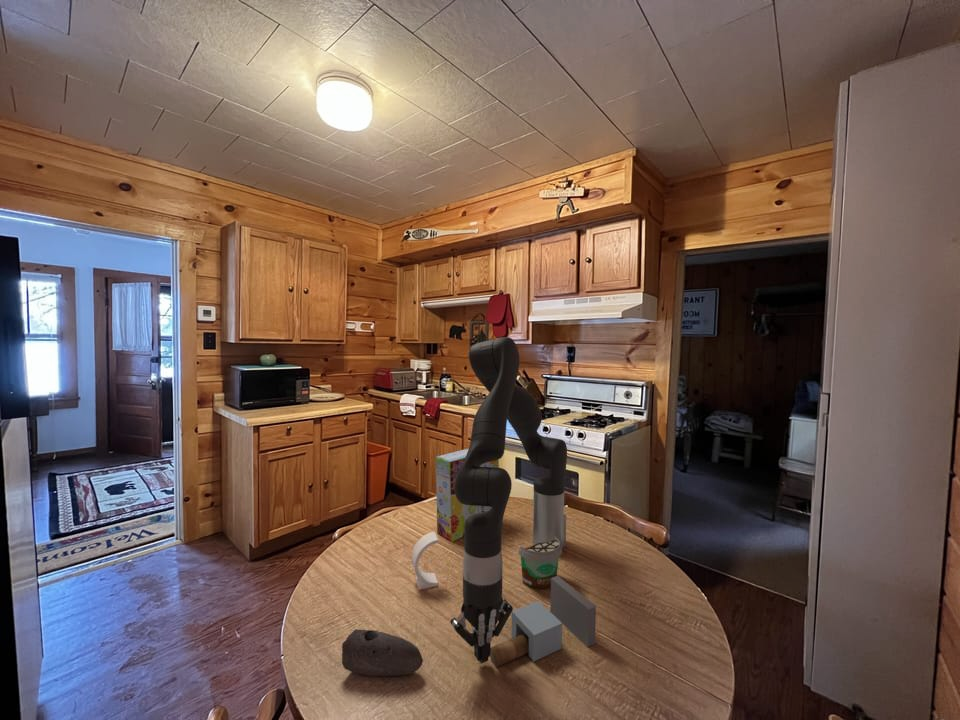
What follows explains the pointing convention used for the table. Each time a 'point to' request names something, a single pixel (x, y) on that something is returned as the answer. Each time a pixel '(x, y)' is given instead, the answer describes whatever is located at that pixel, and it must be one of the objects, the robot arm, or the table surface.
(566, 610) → the backstop wall
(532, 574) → the ice cream tub
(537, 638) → the block
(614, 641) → the table surface
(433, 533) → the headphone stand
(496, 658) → the dowel
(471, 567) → the robot arm
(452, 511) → the snack box
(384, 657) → the perforated stone tool
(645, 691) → the table surface
